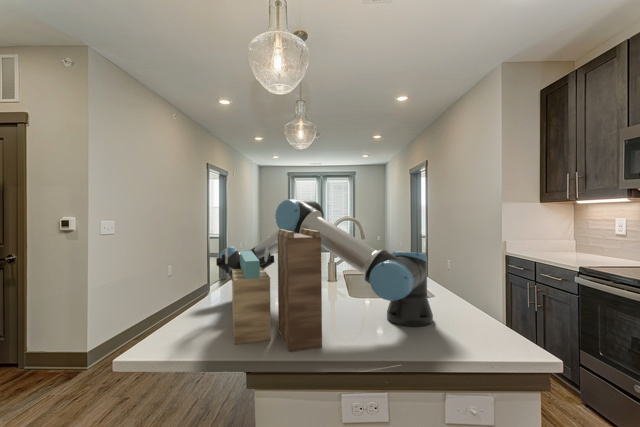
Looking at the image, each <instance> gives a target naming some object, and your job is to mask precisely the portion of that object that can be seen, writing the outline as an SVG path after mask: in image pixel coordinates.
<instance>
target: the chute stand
mask: <svg viewBox="0 0 640 427" xmlns="http://www.w3.org/2000/svg"><path fill="white" fill-rule="evenodd" d="M278 230H279V234H278V251H277V297H278V298H277V299H278V301H277V304H278V305H277V310H278V311H277V314H278V318H277V322H278V323H277V324H278V332H279V333H280V336H281V338H282V340H283V342H284V344H285V346H286V349H287V350H288V352H289V353H293V352H300V351H307V350H314V349H315V350H316V349H322V348H323V312H322V311H323V308H322V307H323V306H322V305H323V301H322V299H323V296H322V291H323V290H322V286H323V284H322V283H323V282H322V281H323V280H322V246H321V237H320V231H315V230H310V229H301V233H295V234H294V232H292V231H288V230H284V229H279V228H278Z"/></svg>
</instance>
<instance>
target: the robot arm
mask: <svg viewBox="0 0 640 427" xmlns="http://www.w3.org/2000/svg"><path fill="white" fill-rule="evenodd" d="M274 214H275V216H274V218H275V223H276V225H277V227H278V229H277V230H276V231H274V232H273V233H272V234H270V235H269V236H267V237H266V238H265V239H263V240H261V242H259V243H258V244H256V245H255V246H253V247H252V248H251V249H248V250H245V251H252V252H253V253H254V255H255V256H256V257H257V258H258V259H259V261H260V268H263V269H264V270H265V269H266V268H267V267H270V266H271V265H273V264H274V263H275V255H274V254H276V253H278V234H279V229H284V230H288V231H292V232H294V234H295V233H301V229H310V230H315V231H320V237H321V248H324V249H325V250H326V251H328V252H330V253H331V254H332V255H334V256H335V257H337V258H339V259H340V260H342V261H343V262H345V263H347V265H349V266H351V267H352V268H353V269H355V270H357V271H358V272H360V273H361V274H362V275H363V278H364V281H365V282H366V283H368V284H369V285H370V286H371V290H372V291H373V293H374V294H375V295H376V296H378V297H379V298H380V299H382V300H385V301H389V304H388V306H387V309H386V318H387V320H388V321H389V322H392V323H393V324H396V325H400V326H406V327H423V326H424V327H425V326H429V325H431V324H432V323H433V320H434V319H433V318H434V315H433V311H432V307H431V305H430V302H429V299H428V258H427V255H426V254H425V253H424V252H412V251H393V252H389V251H387V250H386V249H384V248H383V249H379V250H376V249H375V248H373V247H371V246H370V245H368V244H367V243H365V242H363V241H362V240H360V239H359V238H357V237H355V236H353V235H351V234H350V233H349V232H347V231H345V230H343V229H342V228H340V227H338V226H337V225H336V224H333V223H331V222H330V221H328V220H326V219H325V214H324V209H323V208H322V206H321V204H320V203H318V202H317V201H315V200H310V199H294V198H290V199H284V200H282V201H281V202H280V203H279V204H278V205H277V208H276V210H275V213H274ZM240 251H241V250H238V249H237V247H235V246H228V247H226V248H224V249H223V250H222V251H221V252H220V254H219V257H216V266H217V267H218V268H220V269H221V270H223V271H225V273H226V274H228V276H229V278H230V280H231V281H232V269H241V266H240Z"/></svg>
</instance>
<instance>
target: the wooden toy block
mask: <svg viewBox="0 0 640 427" xmlns="http://www.w3.org/2000/svg"><path fill="white" fill-rule="evenodd" d="M231 286H232V287H231V288H232V290H231V292H232V296H231V297H232V298H231V299H232V300H231V301H232V302H231V304H232V331H233V340H234V345H243V344H244V345H245V344H249V343H250V344H251V343H257V342H258V343H260V342H266V341H271V340H272V339H271V336H272V334H271V331H272V330H271V321H272V320H271V277H270V276H269V274H268V273H267V271H265V269H263V268H260V278H256V279H245V277H244V274H243V271H242V269H232V280H231Z"/></svg>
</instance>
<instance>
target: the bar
mask: <svg viewBox="0 0 640 427" xmlns="http://www.w3.org/2000/svg"><path fill="white" fill-rule="evenodd" d="M239 251H240V266H241V269H242V271H243V274H244V277H245V279H256V278H260V261H259V259H258V258H257V257H256V256H255V255H254V253H253V252H252V251H246V250H239Z"/></svg>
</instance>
